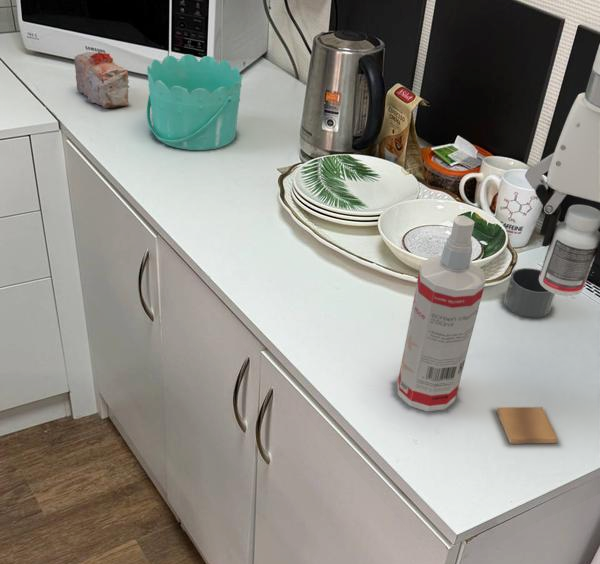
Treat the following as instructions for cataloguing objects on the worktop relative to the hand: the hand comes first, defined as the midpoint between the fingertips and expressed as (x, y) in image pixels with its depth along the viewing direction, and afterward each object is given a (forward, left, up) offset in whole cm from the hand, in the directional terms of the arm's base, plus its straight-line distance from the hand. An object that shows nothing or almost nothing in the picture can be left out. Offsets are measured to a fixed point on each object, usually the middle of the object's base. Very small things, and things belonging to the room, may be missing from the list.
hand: (573, 247), depth 94 cm
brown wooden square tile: (+2, +8, -22) cm, 23 cm away
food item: (+65, -100, -22) cm, 121 cm away
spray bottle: (+14, 0, -22) cm, 26 cm away
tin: (-7, -21, -22) cm, 31 cm away
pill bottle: (0, 0, -5) cm, 5 cm away
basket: (+45, -83, -22) cm, 97 cm away
